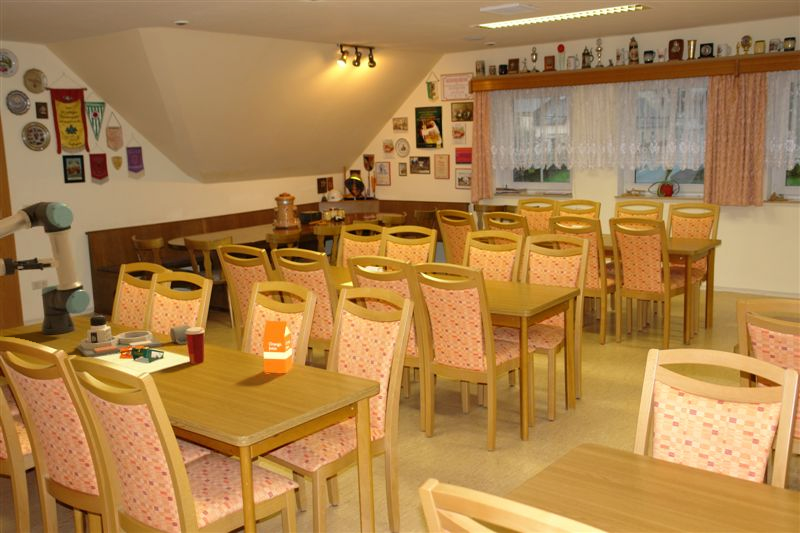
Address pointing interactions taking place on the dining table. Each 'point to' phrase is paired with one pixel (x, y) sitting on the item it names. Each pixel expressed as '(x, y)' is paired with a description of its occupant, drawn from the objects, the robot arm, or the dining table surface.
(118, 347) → the ring board
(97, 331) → the container
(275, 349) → the orange juice
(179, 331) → the ceramic mug
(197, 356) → the paper cup
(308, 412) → the dining table surface
